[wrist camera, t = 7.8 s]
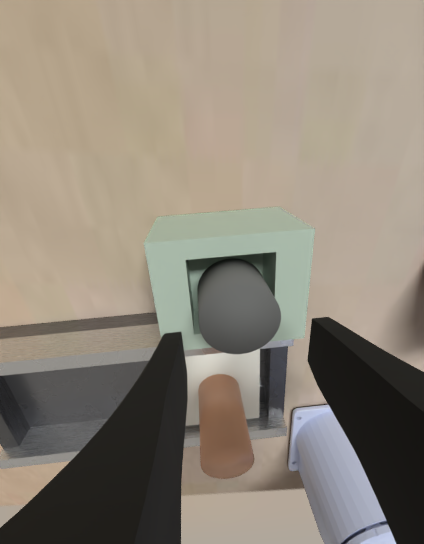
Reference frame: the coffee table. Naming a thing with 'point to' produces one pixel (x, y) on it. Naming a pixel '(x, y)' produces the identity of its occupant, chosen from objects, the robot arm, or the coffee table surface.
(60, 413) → the grey rectangular tray
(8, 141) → the coffee table surface
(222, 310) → the button
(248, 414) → the plaque with round peg
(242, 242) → the cabinet
